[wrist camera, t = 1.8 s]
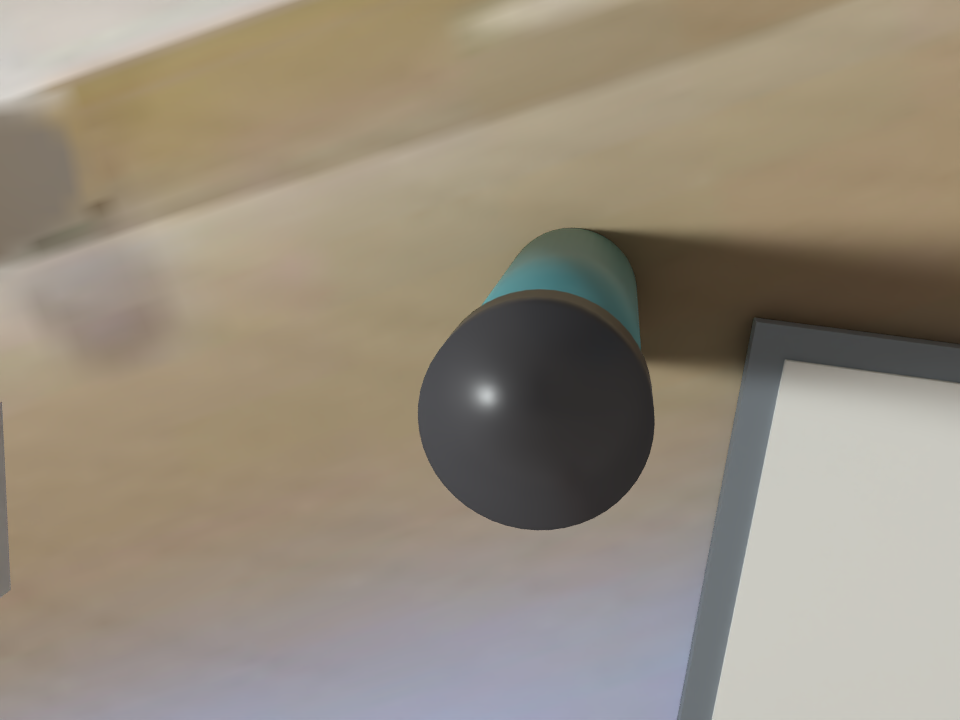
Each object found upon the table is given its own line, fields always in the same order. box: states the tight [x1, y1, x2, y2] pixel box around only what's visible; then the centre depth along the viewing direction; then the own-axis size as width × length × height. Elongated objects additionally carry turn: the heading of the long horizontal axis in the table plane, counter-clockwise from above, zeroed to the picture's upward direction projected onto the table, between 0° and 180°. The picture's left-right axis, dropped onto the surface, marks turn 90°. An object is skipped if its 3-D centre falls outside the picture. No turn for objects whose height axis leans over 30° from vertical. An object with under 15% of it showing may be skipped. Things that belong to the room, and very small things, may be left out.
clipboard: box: [677, 318, 960, 720], centre depth 29 cm, size 18×11×2 cm, turn 175°
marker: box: [418, 228, 655, 530], centre depth 22 cm, size 4×4×12 cm
